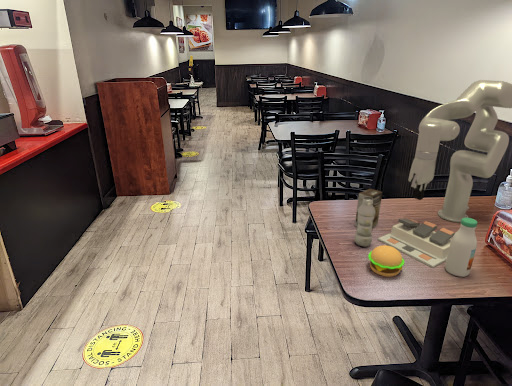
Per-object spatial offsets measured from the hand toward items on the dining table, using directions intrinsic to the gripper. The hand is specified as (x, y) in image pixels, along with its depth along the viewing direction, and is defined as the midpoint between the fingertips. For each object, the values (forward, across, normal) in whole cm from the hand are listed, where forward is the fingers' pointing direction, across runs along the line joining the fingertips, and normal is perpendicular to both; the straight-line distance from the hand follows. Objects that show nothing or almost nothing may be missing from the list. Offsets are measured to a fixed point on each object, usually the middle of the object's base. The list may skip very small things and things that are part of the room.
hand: (418, 198), depth 139 cm
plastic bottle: (+17, +23, -6) cm, 29 cm away
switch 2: (+10, +3, +14) cm, 17 cm away
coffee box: (+17, +9, -16) cm, 25 cm away
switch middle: (+10, +3, +7) cm, 13 cm away
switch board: (+17, +7, +7) cm, 19 cm away
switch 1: (+10, +3, 0) cm, 10 cm away
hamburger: (+17, +30, +10) cm, 36 cm away
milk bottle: (+17, +10, +25) cm, 31 cm away
